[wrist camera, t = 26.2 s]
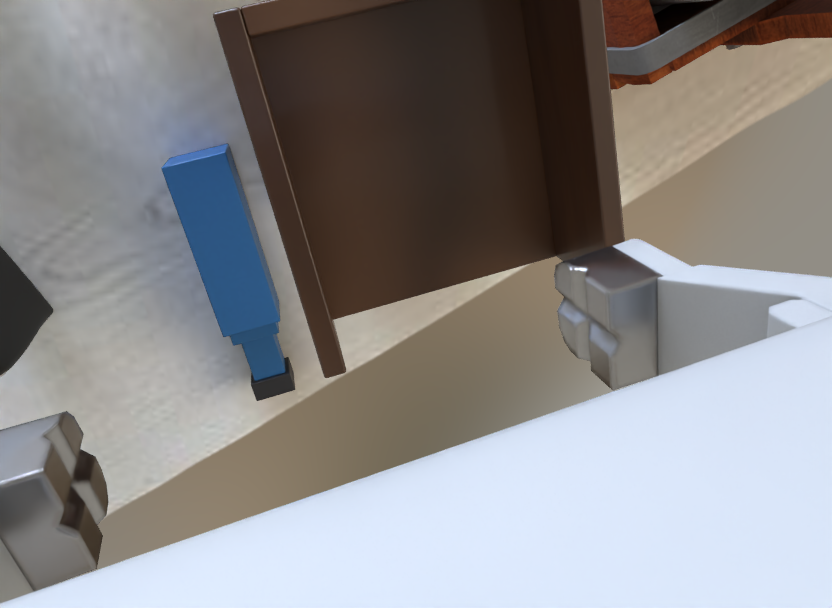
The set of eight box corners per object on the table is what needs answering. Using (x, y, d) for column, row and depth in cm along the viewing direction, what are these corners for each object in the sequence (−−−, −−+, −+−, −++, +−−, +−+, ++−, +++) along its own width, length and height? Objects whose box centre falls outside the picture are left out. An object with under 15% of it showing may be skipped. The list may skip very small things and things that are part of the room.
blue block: (249, 382, 54) (248, 407, 50) (169, 157, 47) (160, 167, 43) (300, 367, 55) (303, 391, 51) (228, 143, 47) (225, 151, 44)
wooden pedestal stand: (291, 203, 50) (325, 379, 23) (241, 33, 45) (211, 12, 19) (439, 164, 51) (630, 289, 25) (405, -5, 46) (596, -74, 20)
